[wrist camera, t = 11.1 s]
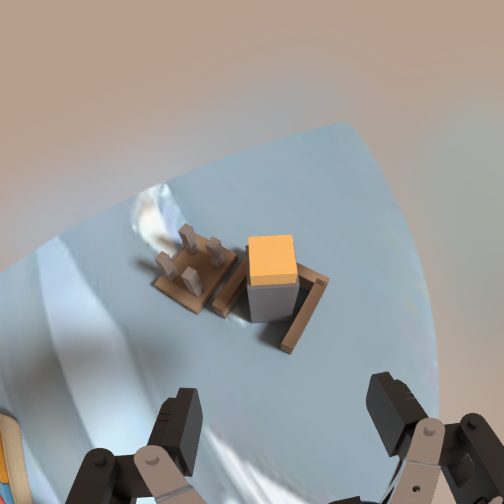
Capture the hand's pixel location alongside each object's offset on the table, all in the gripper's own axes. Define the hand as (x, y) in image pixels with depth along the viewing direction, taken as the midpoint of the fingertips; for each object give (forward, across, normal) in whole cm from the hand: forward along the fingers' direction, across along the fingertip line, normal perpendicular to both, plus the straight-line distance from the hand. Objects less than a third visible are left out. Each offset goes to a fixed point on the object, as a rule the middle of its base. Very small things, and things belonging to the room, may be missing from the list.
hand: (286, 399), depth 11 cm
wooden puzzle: (0, +41, +22) cm, 47 cm away
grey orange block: (+18, 0, +3) cm, 18 cm away
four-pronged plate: (+21, +8, 0) cm, 22 cm away
